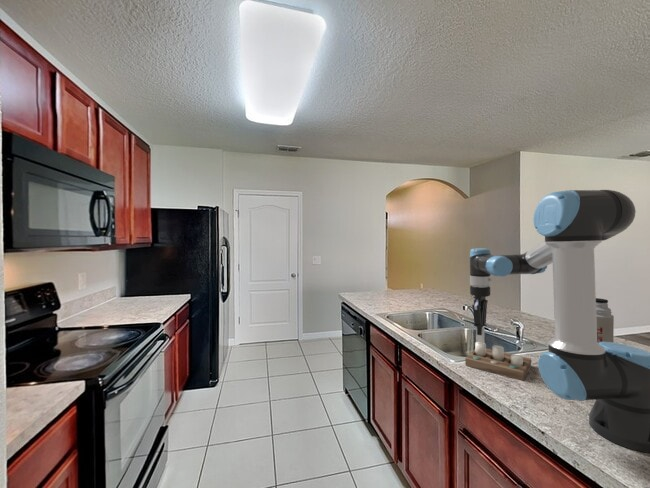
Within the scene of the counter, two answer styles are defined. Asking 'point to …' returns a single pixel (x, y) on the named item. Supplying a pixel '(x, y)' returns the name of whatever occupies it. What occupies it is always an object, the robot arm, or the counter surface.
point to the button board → (499, 365)
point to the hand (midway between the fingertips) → (480, 341)
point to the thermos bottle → (604, 321)
